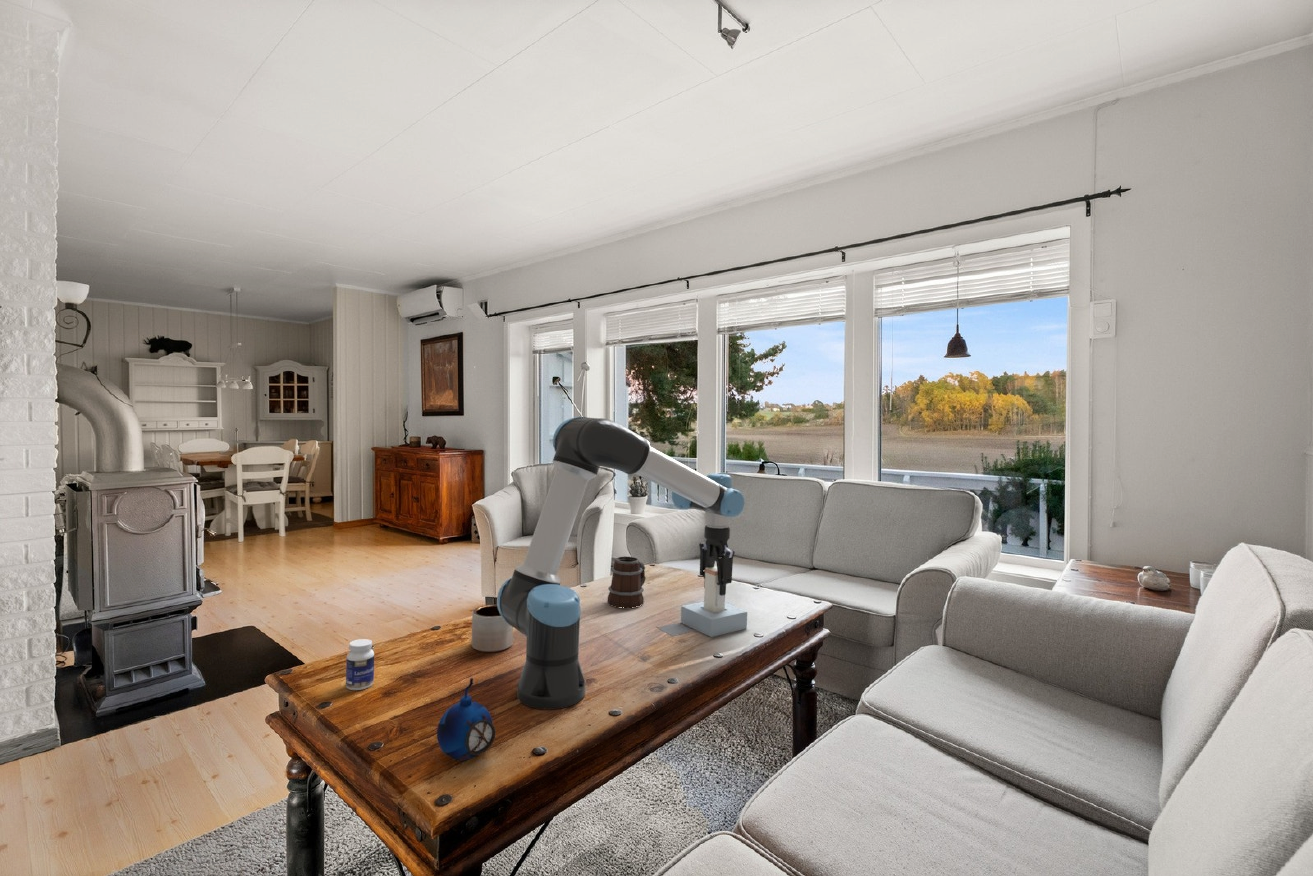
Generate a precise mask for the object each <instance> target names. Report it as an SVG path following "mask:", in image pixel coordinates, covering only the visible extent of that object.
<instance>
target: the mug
mask: <svg viewBox="0 0 1313 876" xmlns="http://www.w3.org/2000/svg"><path fill="white" fill-rule="evenodd" d="M610 570H611V572H612V577H611V584H610V585H609V587H608V591H609V593H608V595H607V604H608V605H609V604H610V605H613V606H616V607H615V608H617V607H622V608H621V609H627V608H631V609H633V608H632V607H636V606H640V605H641V604H642V605H643V604H644V601H645V598H644V595H643V592H644V588H643V586H644V584H645V582H646V578H647V577H646V576H645V575H646V574H645V570H646V566H645V565H644V563H643V562H642V561H640V559H638V557H634V556H618V557H616V558H615V560H614V563H613V566H612V567H611V569H610ZM610 605H609V606H610ZM642 605H641V606H642ZM613 606H612V607H613ZM641 606H640V607H641ZM623 607H624V608H623ZM636 608H637V607H636Z"/></svg>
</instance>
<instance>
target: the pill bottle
mask: <svg viewBox="0 0 1313 876" xmlns="http://www.w3.org/2000/svg"><path fill="white" fill-rule="evenodd" d="M348 646H349V647H348V650H349V652H347V655H346V661H345V662H346V665H345V666H346V667H345V669H346V670H345V687H346V688H347V689H348V690H351V691H362V690H365V689H368V688H370V687H371V686H373V685H374V682H375V681H374V678H375V652H374V650H373V649H372V647H373V641H372V640H371V639H369V638H368V639H367V638H359V639H355V640H352V641H350V642H349V644H348Z"/></svg>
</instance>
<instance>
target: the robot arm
mask: <svg viewBox="0 0 1313 876" xmlns="http://www.w3.org/2000/svg"><path fill="white" fill-rule="evenodd" d="M650 444H651V443H650V442H649V440H648V439H646V438H645V437H643V436H641V435H639V434H637V433H636V432H634V431H632V430H631V429H630V428H627V427H625V426H624V425H622V424H620V423H618V422H616V421H614V420H611V419H608V418H602V417H601V418H596V417H595V418H594V417H586V416H577V417H572V418H568V419H565V420H564V421H563V422H562V423H560V424H559V425H558V427H557V428H556V429H555V431H554V435H553V437H552V446H553V448H554V452H555V453H554V456H553V459H552V462H551V463H552V465H553V466H554V468H555V472H554V475H553V478H552V480H551V484H550V485H549V489H548V492H547V494H546V498H545V501H544V503H543V505H542V509H541V512H540V515H539V517H538V521H537V524H536V525H535V529H534V531H533V535H532V538H531V541H530V544H529V547H528V550H527V553H526V555H525V558H524V560H523V562H522V563H521V564H519V565H518V566H516V567H515V568H514V571H513V573H512V576H511V577H509V579H507V580H505V581H504V582H503V583H502V585H501V586H500V588H499V590H498V592H497V595H496V596H497V597H496V605H497V607H498V610H499V613H500V615H501V616H502V617H503V618H504V620H505V621H506V622H507V623H508V624H509V625H511V626H512V627H513V629H515V630H517V631H518V632H519V633H520V634H522V635H524V637H526V649H525V650H526V653H525V655H526V656H525V663H524V665H523V669H522V671H521V674H520V677H519V680H518V683H517V687H516V688H517V689H516V690H517V691H516V697H517V700H518V701H519V702H520V703H521V704H523V706H524V705H525V706H527V707H530V708H533V709H538V710H539V709H540V710H557V709H558V710H559V709H564V708H567V707H571V706H573V705H575V704H577V703H579V702H580V701H582V700H583V698H584V697H585V696H586V681H585V678H584V674H583V670H582V667H581V663H580V661H579V654H580V653H579V649H580V648H579V647H580V645H579V644H580V620H581V619H580V618H581V613H582V611H581V603H580V602H581V601H580V599H581V598H580V596H579V594H578V593H577V592H576V591H575V590H574V589H572V588H571V587H568V586H567V585H566V586H565V585H561V582H562V581H561V579H560V577H559V574H558V572H559V568H560V566H561V562H562V560H563V557H564V553H565V551H566V548H567V546H568V542H569V539H570V537H571V533H572V531H573V527H574V525H575V522H576V518H577V516H578V513H579V510H580V507H581V504H582V501H583V499H584V496H585V492H586V489H587V486H588V483H589V481H590V480H592V479H595V478H596V477H597V475H598V473H599V469H600V467H601V468H608V469H613V470H617V471H620V472H622V473H624V474H627V475H629V476H633V475H638V476H640V477H642V478H644V479H646V480H648V481H649V482H652V483H654V484H656V485H658V486H660V487H662V488H665V489H666V490H668V491H670V492H671V499H672V503H673V505H674V506H675V508H676V509H679V510H688V509H689V510H690V509H691V510H692V509H693V510H697V511H702V512H704V513H705V514H704V524H705V526H704V539H706V540H705V542H699V543H698V547H699V551H700V552H699V575H700V576H702V577H703V584H704V585H703V587H704V590H705V568H709V567H715V564H716V566H717V571H718V582H719V583H717V586H716V606H722V605H724V598H725V599H726V594H727V585H728V584H731V583H732V580H733V563H734V561H733V560H734V556H735V550H731V549H730V548H729V545H728V541H729V539H730V536H731V527H730V525H731V518H736V517H737V516H739V515H741V513H742V512H743V510H744V507H745V498H744V495H743V493H742V491H740V490H738V489H734V488H733V486H732V485H733V484H732V483H733V481H732V476H731V475H729V474H727V473H709V474H706V475H707V476H705V475H704V474H702V473H700V472H698V471H697V470H694V469H693V468H690V467H689V466H687V465H685V464H684V463H682V462H680V461H678V460H676V459H674V458H672V457H671V456H669V455H668V454H665V453H664V452H661V451H659V450H658V449H656V448H654V447H652V446H651V445H650ZM722 579H723V580H722Z"/></svg>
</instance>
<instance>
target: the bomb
mask: <svg viewBox="0 0 1313 876" xmlns="http://www.w3.org/2000/svg"><path fill="white" fill-rule="evenodd" d="M473 682H474V679H473V677H470V678H469V684H468V686H466V687H465V690H464V695H462V696H461V697H460V698H459V701H458V702H457V703H456V702H455V704H453V705H452V706H450V707H449V708H448V709H447V710H446V711H444V713H443V714H442V716H441V717H440V720H439V722H438V724H437V728H436V729H437V730H436V739H437V742H438V746H439V748H440V750H441V751H442V752H443V754H445V755H446V756H447V757H449V758H452V759H453V760H457V761H458V760H459V761H465V760H466V761H467V760H469V759H473V758H475V757H477V756H479V755H481V754H483V753H485V752H486V751H487V750H488V749H489V748H490V747H491V746H492V744H493V743H494V741H495V739H496V732H497V731H496V729H495V726H494V723H493V718H492V715H491V713H490V712H489V710H488V709H487V708H486V706H484V705H483V704H482V703H479V702H478V701H474V700H472V699H473V698H472V696H471V695H468V693H469V689H471V687H472V686H473Z"/></svg>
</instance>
